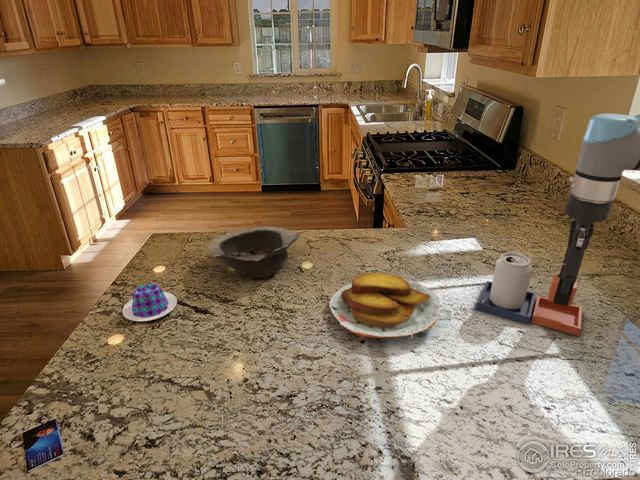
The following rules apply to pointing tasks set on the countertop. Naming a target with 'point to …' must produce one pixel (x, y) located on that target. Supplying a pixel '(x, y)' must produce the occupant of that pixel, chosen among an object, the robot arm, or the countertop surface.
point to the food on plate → (385, 306)
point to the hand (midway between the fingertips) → (561, 297)
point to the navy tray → (516, 315)
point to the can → (510, 281)
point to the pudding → (149, 303)
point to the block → (554, 287)
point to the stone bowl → (253, 250)
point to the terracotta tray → (557, 316)
